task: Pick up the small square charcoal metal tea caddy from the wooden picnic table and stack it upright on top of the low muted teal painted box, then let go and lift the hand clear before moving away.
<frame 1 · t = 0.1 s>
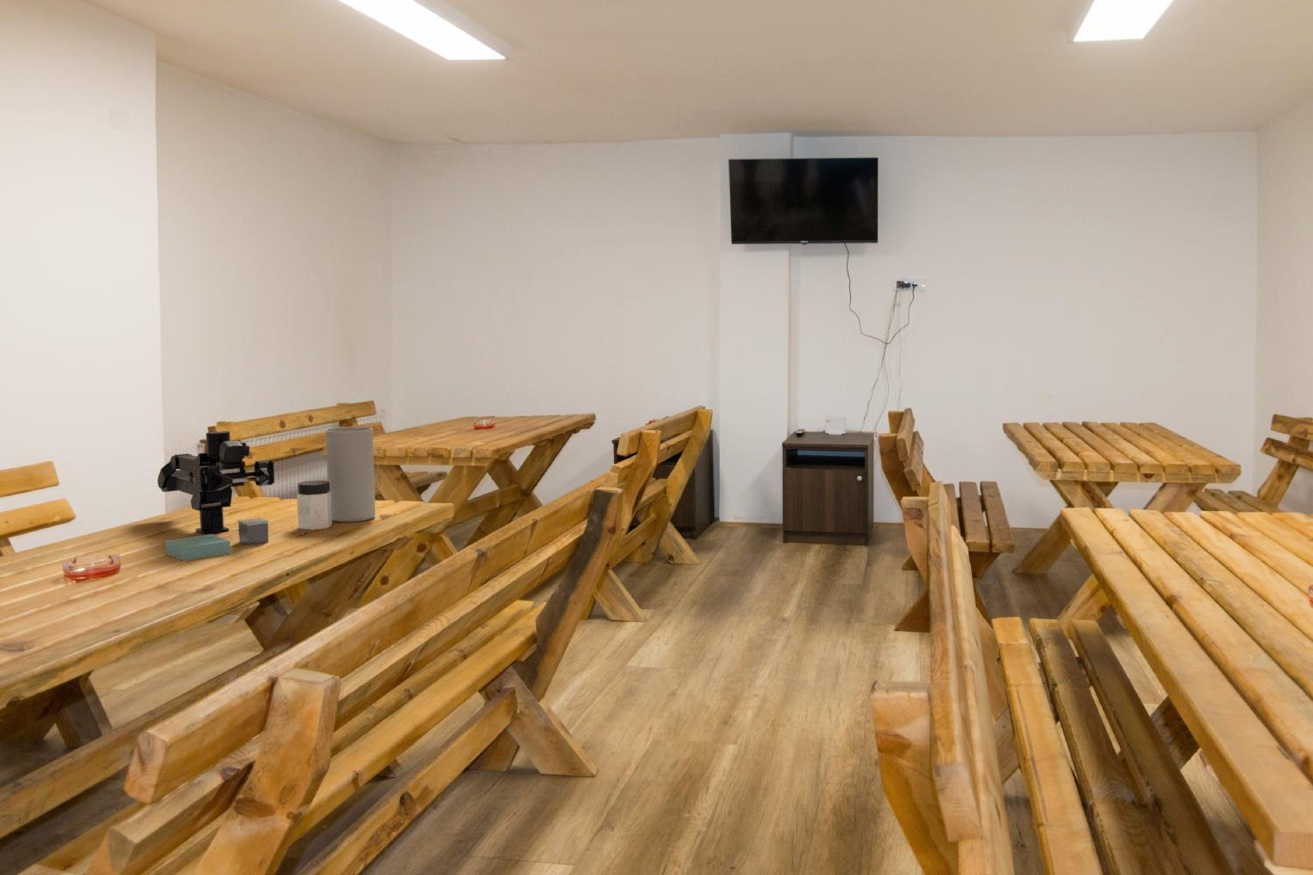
hand: (250, 479, 268), 17 cm above the table, tool horizontal, fingers open, 9 cm apart
teal box: (198, 555, 262), on the table
tin: (254, 542, 275), on the table
jar: (315, 527, 293), on the table
cylinder vase: (352, 519, 305), on the table
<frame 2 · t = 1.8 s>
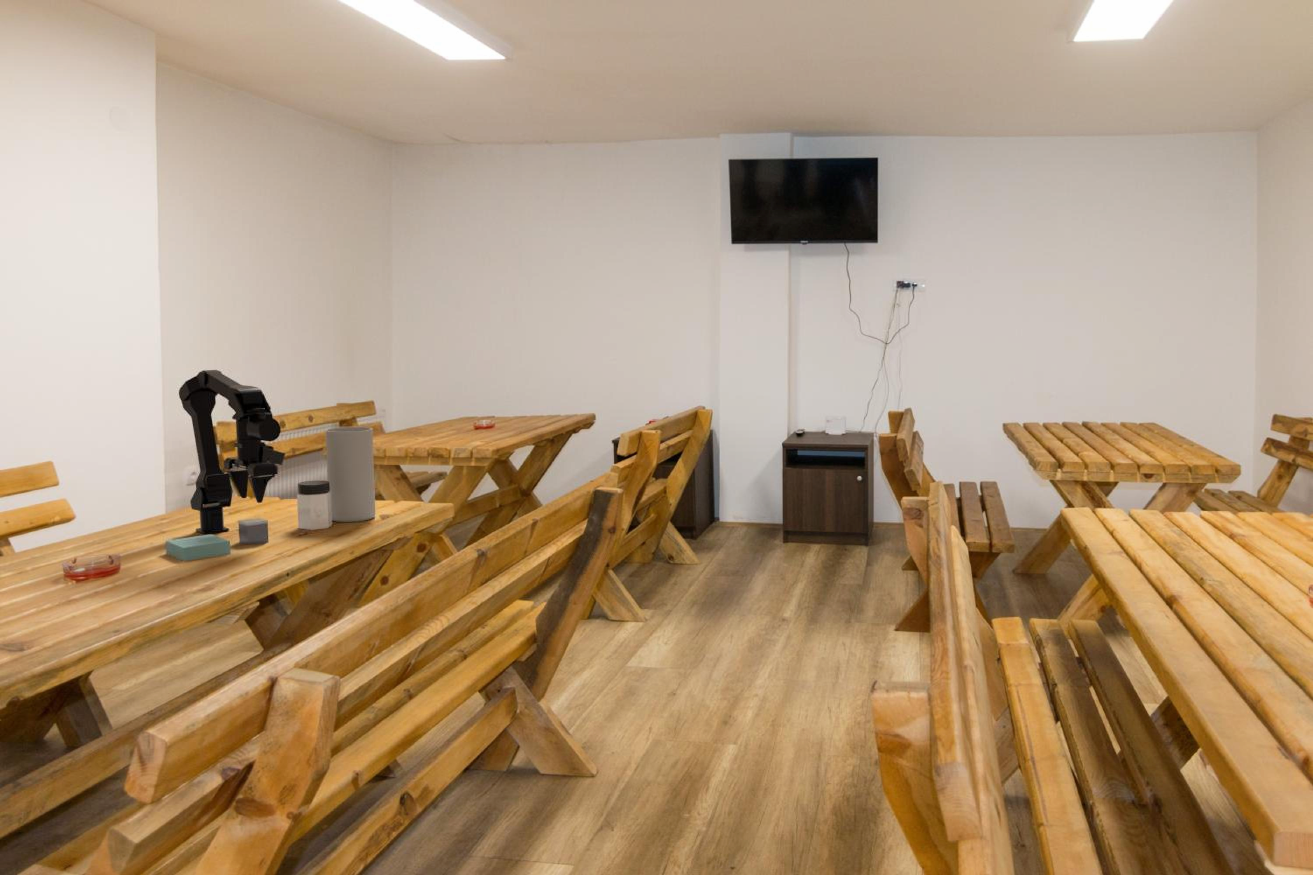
hand: (251, 500, 273), 11 cm above the table, tool pointing down, fingers open, 9 cm apart
nothing on the table moved.
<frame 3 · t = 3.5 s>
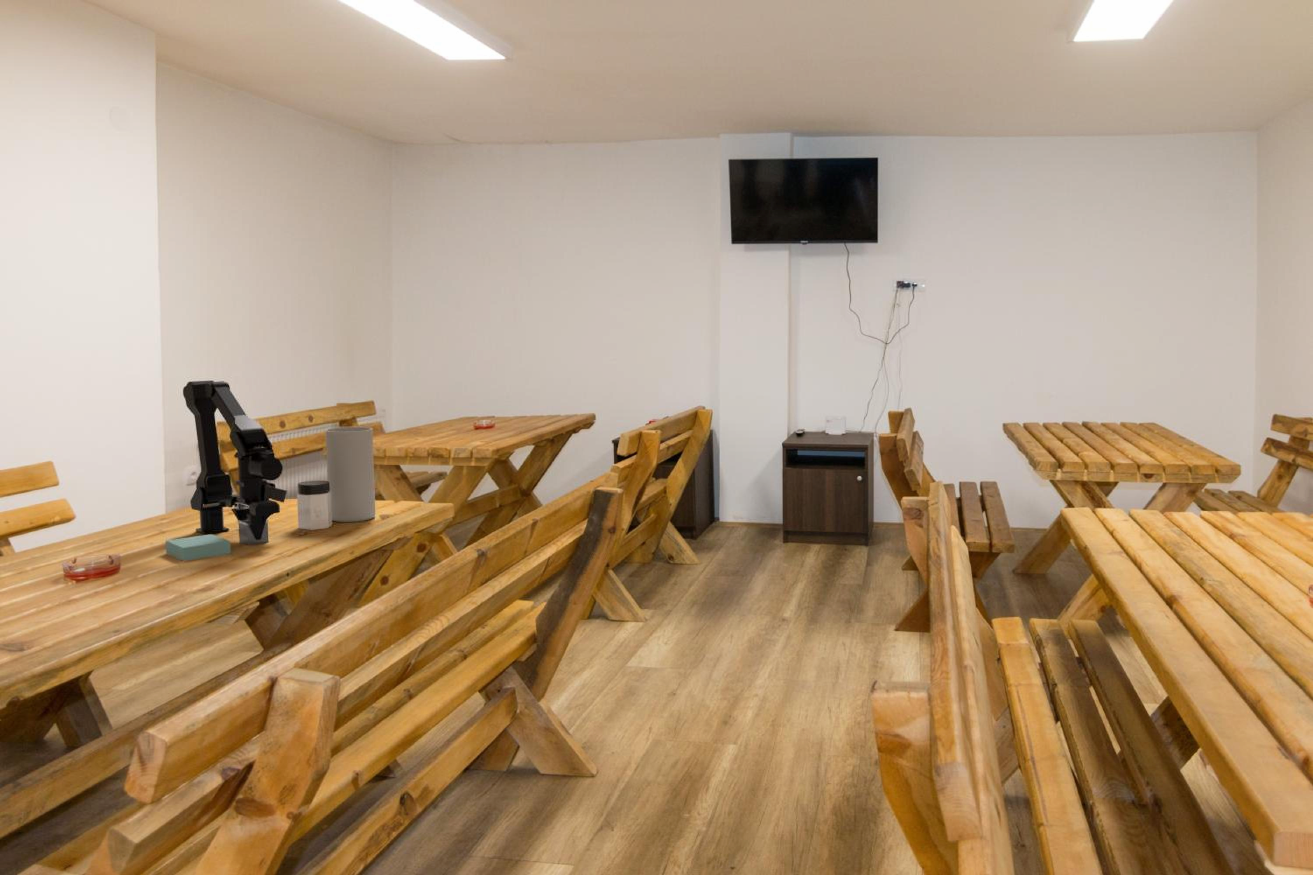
hand: (253, 537, 274), 1 cm above the table, tool pointing down, fingers closed on tin, 5 cm apart
tin: (254, 542, 275), on the table, touching gripper
everything else where it was.
when the fingers open (5 cm above the table, at t = 8.7 s): tin drops 1 cm, point 3 cm above the table.
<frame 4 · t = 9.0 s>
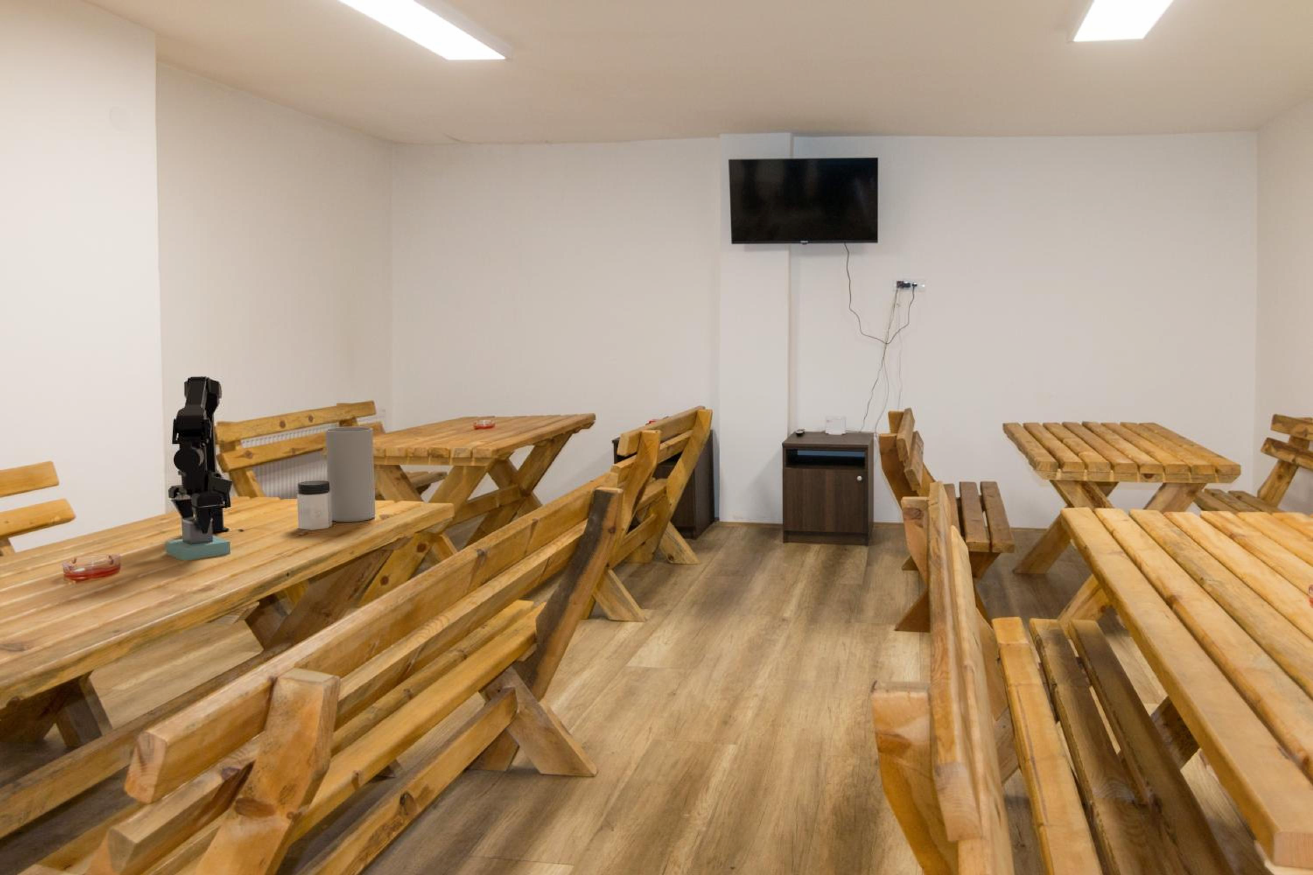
hand: (197, 530, 261), 5 cm above the table, tool pointing down, fingers open, 9 cm apart
tin: (197, 541, 262), point 3 cm above the table
everything else where it was.
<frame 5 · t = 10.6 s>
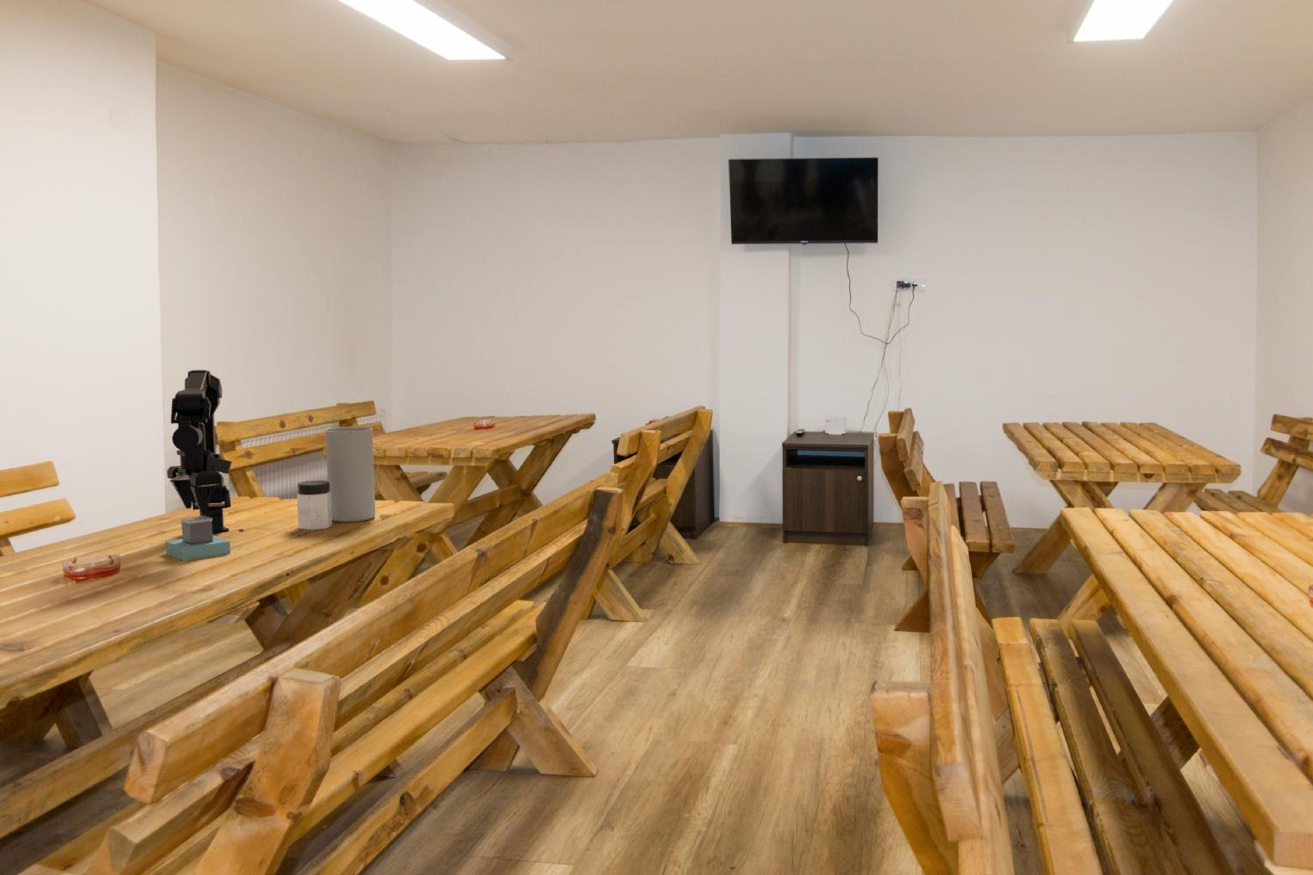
hand: (196, 510, 261), 10 cm above the table, tool pointing down, fingers open, 9 cm apart
teal box: (198, 555, 262), on the table, touching tin
tin: (197, 541, 261), point 3 cm above the table, touching teal box
everything else where it was.
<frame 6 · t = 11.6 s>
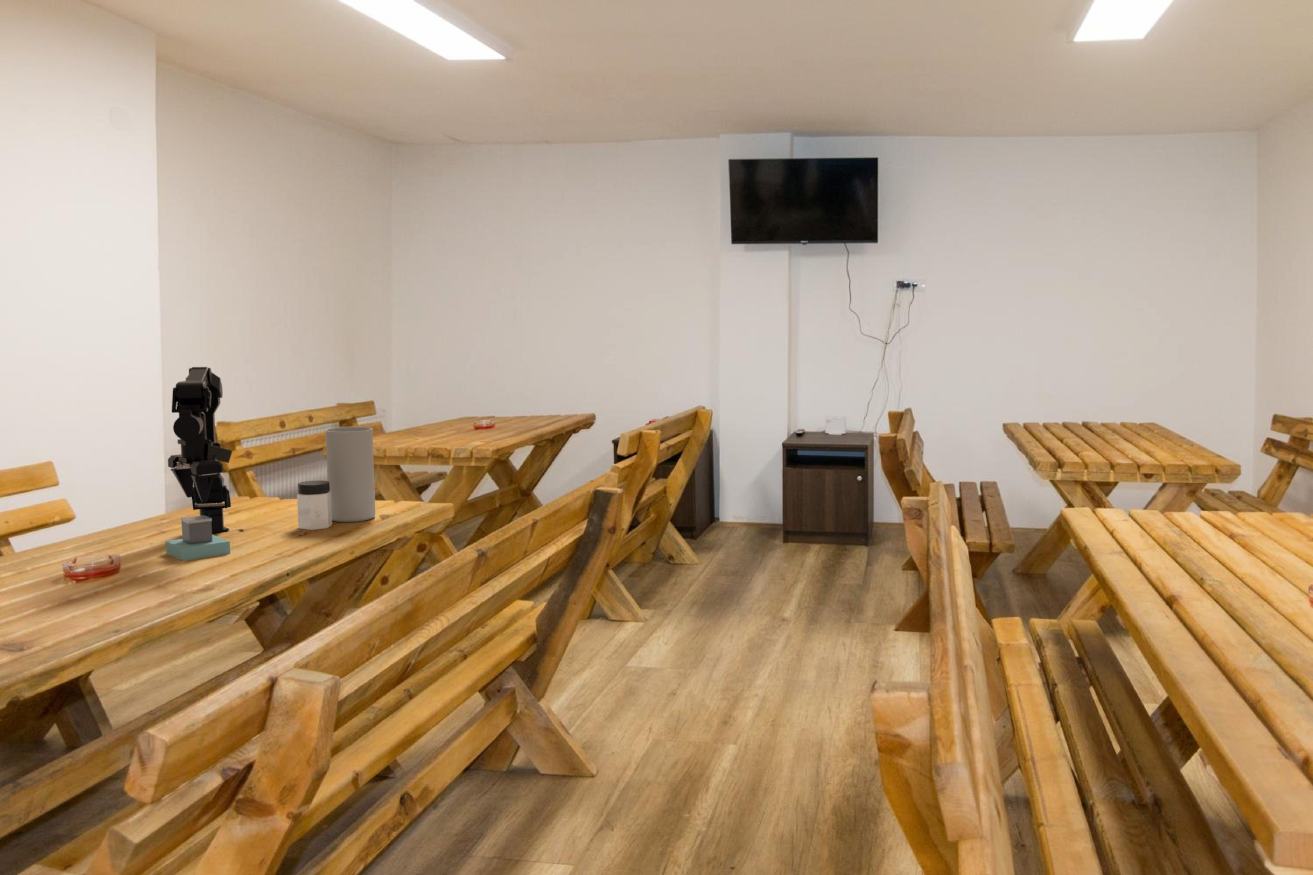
hand: (196, 499, 262), 13 cm above the table, tool pointing down, fingers open, 9 cm apart
teal box: (198, 555, 262), on the table
tin: (197, 541, 262), point 3 cm above the table
everything else where it was.
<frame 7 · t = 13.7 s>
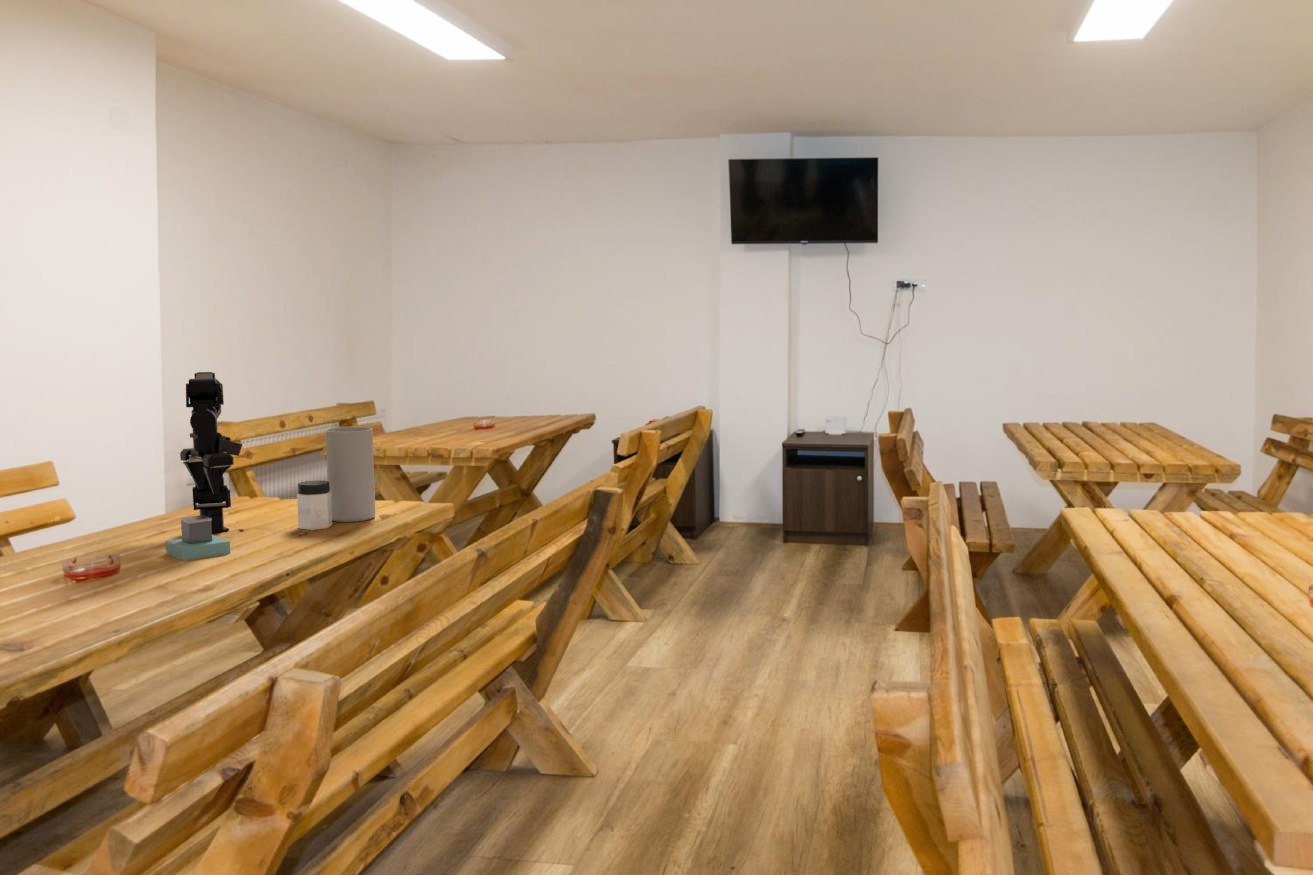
hand: (208, 491, 272), 13 cm above the table, tool pointing down, fingers open, 9 cm apart
teal box: (198, 555, 262), on the table, touching tin
tin: (197, 540, 262), point 3 cm above the table, touching teal box
everything else where it was.
at the end: tin inside the target area on the teal box (0.2 cm from its centre), point 3.5 cm above the teal box's base; tin tilted 0°; the gripper is holding nothing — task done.
